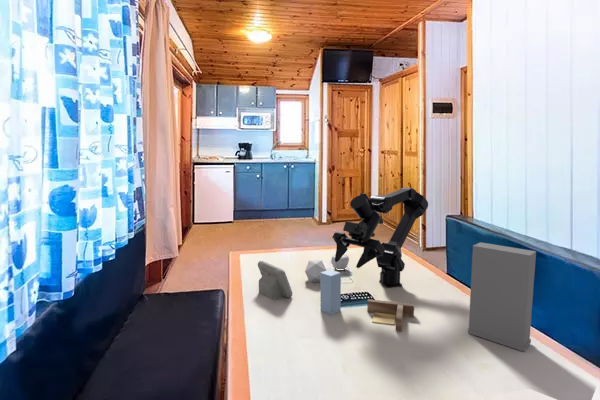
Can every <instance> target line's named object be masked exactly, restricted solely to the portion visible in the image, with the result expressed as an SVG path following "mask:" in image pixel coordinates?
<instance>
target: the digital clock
mask: <svg viewBox="0 0 600 400" xmlns="http://www.w3.org/2000/svg"><path fill="white" fill-rule="evenodd" d="M257 267H258V270H259V273H260V274H261V277H260V278H259V280H258V293H260V294H262V295H263V296H266V297H267V298H269V299H271V300H274V299H278V298H281V297H285V298H292V297H293V290H292V287H291V285H290V282H289V279H288V277H287V274H286V272H285V270H284V269H283V268H280V267H278V266H275V265H273V264H270V263H269V262H266V261H264V260H259V261H258V262H257Z"/></svg>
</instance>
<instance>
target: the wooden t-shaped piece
mask: <svg viewBox="0 0 600 400" xmlns="http://www.w3.org/2000/svg"><path fill="white" fill-rule="evenodd" d="M366 306H367V308H366V309H367V310H366V311H367V312H368V313H373V316H372V321H371V322H372V323H374V324H383V325H391V326H395V332H399V333H400V332H402V331H403V330H402V329H403V328H402V327H403V318H404V317H409V318H414V316H415V315H414V314H415V304H414V303H408V302H407V303H405V302H396V301H388V300H387V301H386V300H379V299H370V298H369V299H367V305H366Z"/></svg>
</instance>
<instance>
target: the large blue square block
mask: <svg viewBox="0 0 600 400" xmlns="http://www.w3.org/2000/svg"><path fill="white" fill-rule="evenodd" d="M341 274H342V273H341V271H340V272H339V271H338V270H333V269H328V270H327V269H326V271H324V272H321V273H320V282H319V283H320V290H319V292H320V311H321V312H323V313H326V314H329V315H330V316H331V315H334V314H336V313H338V312H341V304H342V302H341V300H342V299H341V293H342V292H341V291H342V289H341V286H342V285H341V282H342V281H341V279H342V277H341Z"/></svg>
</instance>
